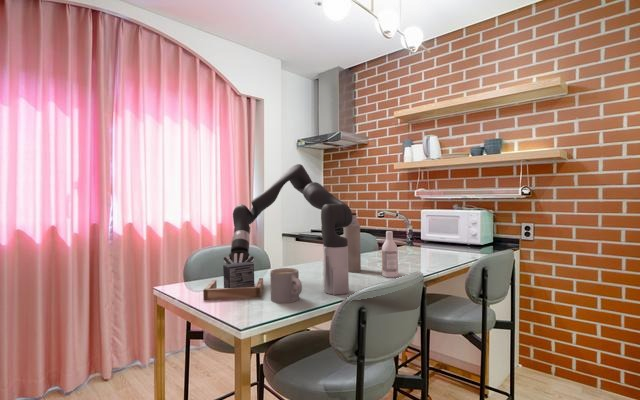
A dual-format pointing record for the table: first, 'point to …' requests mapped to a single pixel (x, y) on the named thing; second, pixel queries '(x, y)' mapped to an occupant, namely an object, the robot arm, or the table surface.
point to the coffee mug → (285, 285)
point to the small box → (238, 275)
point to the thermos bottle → (353, 244)
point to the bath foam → (389, 256)
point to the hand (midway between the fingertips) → (236, 277)
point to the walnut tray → (232, 291)
